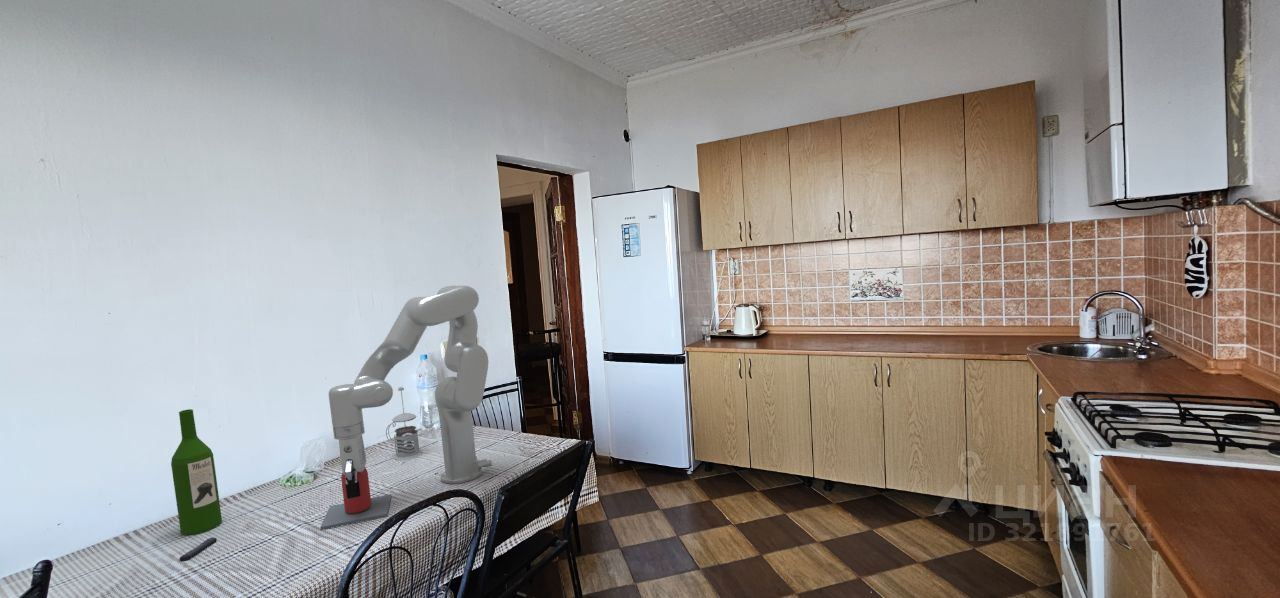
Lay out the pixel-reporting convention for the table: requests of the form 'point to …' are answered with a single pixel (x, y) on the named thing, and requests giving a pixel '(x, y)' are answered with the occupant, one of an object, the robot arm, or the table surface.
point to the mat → (340, 517)
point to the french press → (405, 437)
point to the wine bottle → (195, 481)
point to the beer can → (363, 500)
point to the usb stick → (198, 549)
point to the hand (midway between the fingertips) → (356, 490)
